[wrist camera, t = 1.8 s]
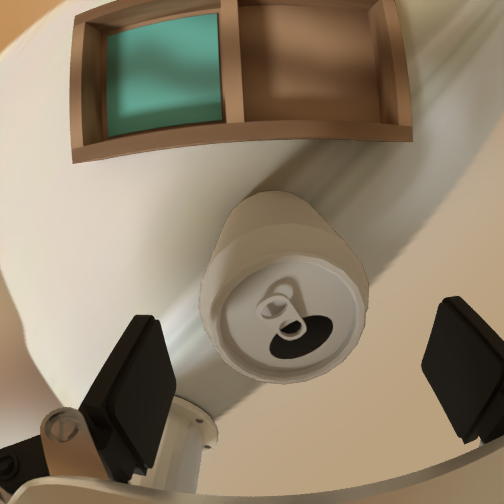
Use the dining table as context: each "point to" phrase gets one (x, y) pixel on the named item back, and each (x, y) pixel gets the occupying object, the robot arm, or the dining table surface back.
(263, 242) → the can
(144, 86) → the tray
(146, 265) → the dining table surface
